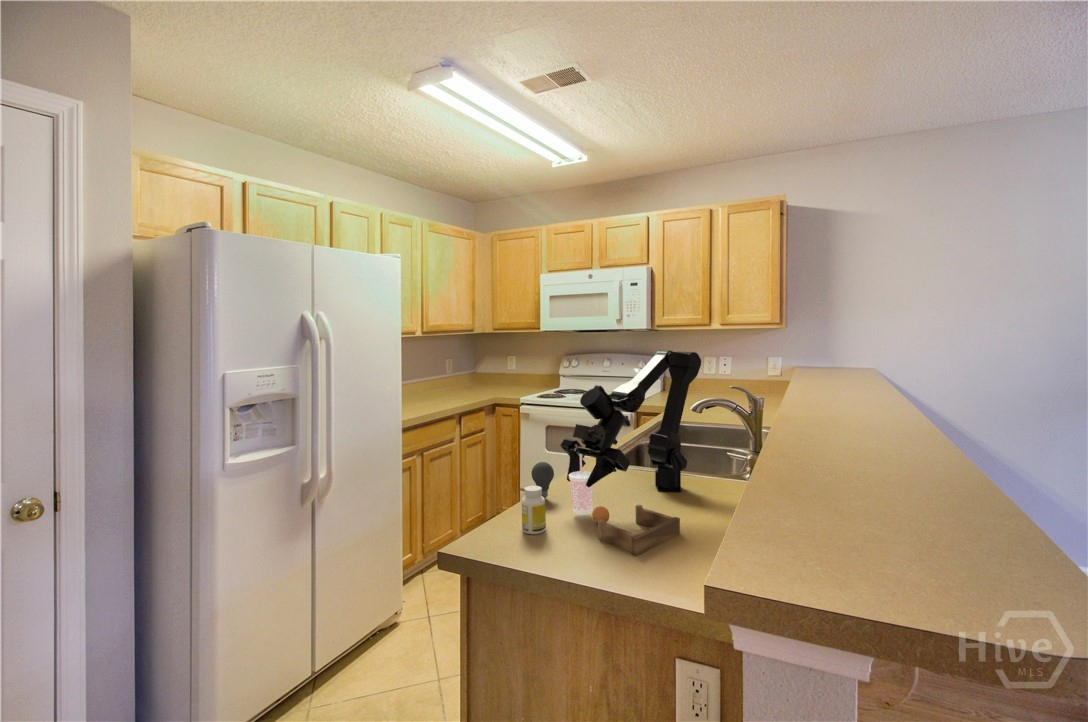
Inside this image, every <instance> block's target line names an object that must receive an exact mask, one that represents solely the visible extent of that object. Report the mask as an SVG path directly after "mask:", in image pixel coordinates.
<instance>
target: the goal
mask: <svg viewBox="0 0 1088 722" xmlns="http://www.w3.org/2000/svg"><path fill="white" fill-rule="evenodd" d="M635 524H638V525H641V526H644V527H648V529H646V530H644V531H642V532H640V533H637V534H636V533H633V532H631V531H627V530H626V529H622V528H619V527H616V526H614V525H611V524H609V523H607V522H606V521H605V520H599V521H598V523H597V526H598V527H597V531H598V533H597V539H598V541H601V542H604V543H607V544H609V545H611V546H615V547H617V548H619V549H622V550H624V551H627V552H630V553H631V555H632V556H633V555H634V556H636V557H637V556H640V555H641V554H643V553H645V552H647V551H649V550H651V549H653V548H655V547H657V546H659V545H660V544H662V543H665V542H667V541H668V540H670V539H673V538H674V537H676V536H678V535H680V534H681V518H680V517H677V516H670V515H667V514H664V513H661V512H657V511H653V510H650V509H648V508H643V505H641V504H636V505H635Z"/></svg>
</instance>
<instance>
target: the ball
mask: <svg viewBox="0 0 1088 722" xmlns="http://www.w3.org/2000/svg"><path fill="white" fill-rule="evenodd" d="M591 513H592V520H593V521H594V523H596V524H598V521H599V520H605V521H606V523H607V522H608V521H609V519H610V511H609V510H608V508H606V507H605V506H602V505H600V506H596V507H595V508H594V509H592V512H591Z"/></svg>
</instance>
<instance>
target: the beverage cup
mask: <svg viewBox="0 0 1088 722" xmlns="http://www.w3.org/2000/svg"><path fill="white" fill-rule="evenodd" d="M591 472H592V471H587V470H586V471H585V470H584V471H583V467H582V454H580V471H577V472H572V473H570V474H569V479H570V482H569V483H570V491H571V492H570V493H571V503H572V512H573V513H574V514H577V515H587V514H591V513H593V494H594V493H593V492H594V491H593V489H594V484H593V485H592V486H591V487H587V486H586V483H587V481H588V478H589V476H590V474H591Z"/></svg>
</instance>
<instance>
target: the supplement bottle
mask: <svg viewBox="0 0 1088 722" xmlns="http://www.w3.org/2000/svg"><path fill="white" fill-rule="evenodd" d="M523 490H524V492H523V493H524V497H523V498H522V499H521V522H522V523H521V527H522V528H521V529H522V531H523V533H525V534H529V535H538V534H542V533H544V532H545V531H546V530H547V527H546V526H547V523H546V521H547V520H546V518H547V516H546V500H545V499H546V498H545V499H544V497H542V496H541V495H542V488H541V487H540V486H537V485H527V486H525V487H524V489H523Z"/></svg>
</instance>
